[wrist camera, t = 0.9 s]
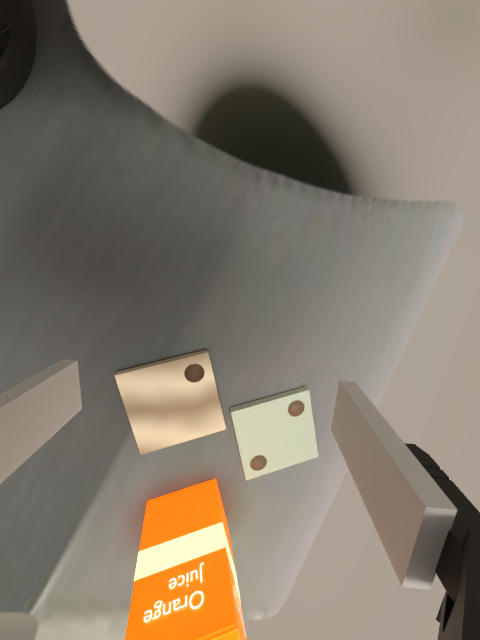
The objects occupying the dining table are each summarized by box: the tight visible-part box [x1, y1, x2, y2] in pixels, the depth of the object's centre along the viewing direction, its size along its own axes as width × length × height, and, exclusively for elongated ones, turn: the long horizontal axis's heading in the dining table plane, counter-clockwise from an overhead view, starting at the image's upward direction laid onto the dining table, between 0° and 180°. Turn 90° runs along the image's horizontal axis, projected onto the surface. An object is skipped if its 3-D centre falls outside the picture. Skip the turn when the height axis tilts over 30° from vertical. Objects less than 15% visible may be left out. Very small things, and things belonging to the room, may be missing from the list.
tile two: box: [230, 386, 318, 481], centre depth 34 cm, size 10×10×1 cm
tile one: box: [114, 349, 226, 455], centre depth 30 cm, size 10×10×1 cm
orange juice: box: [125, 479, 246, 640], centre depth 24 cm, size 8×9×20 cm
